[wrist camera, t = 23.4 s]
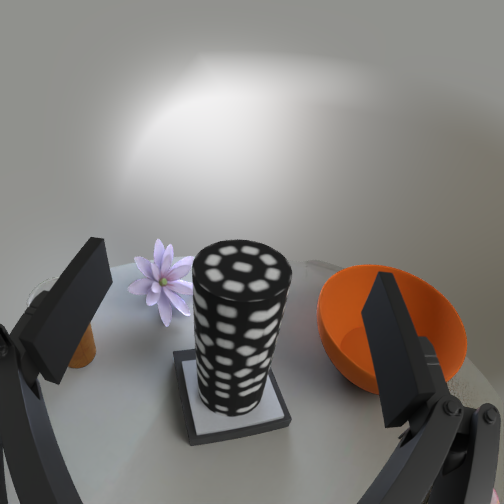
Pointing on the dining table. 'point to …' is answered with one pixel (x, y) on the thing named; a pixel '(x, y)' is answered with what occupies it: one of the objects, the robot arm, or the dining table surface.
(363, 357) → the bowl
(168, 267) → the water lily
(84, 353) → the disposable coffee cup
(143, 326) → the dining table surface
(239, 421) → the scale
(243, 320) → the white-spotted black cylinder
